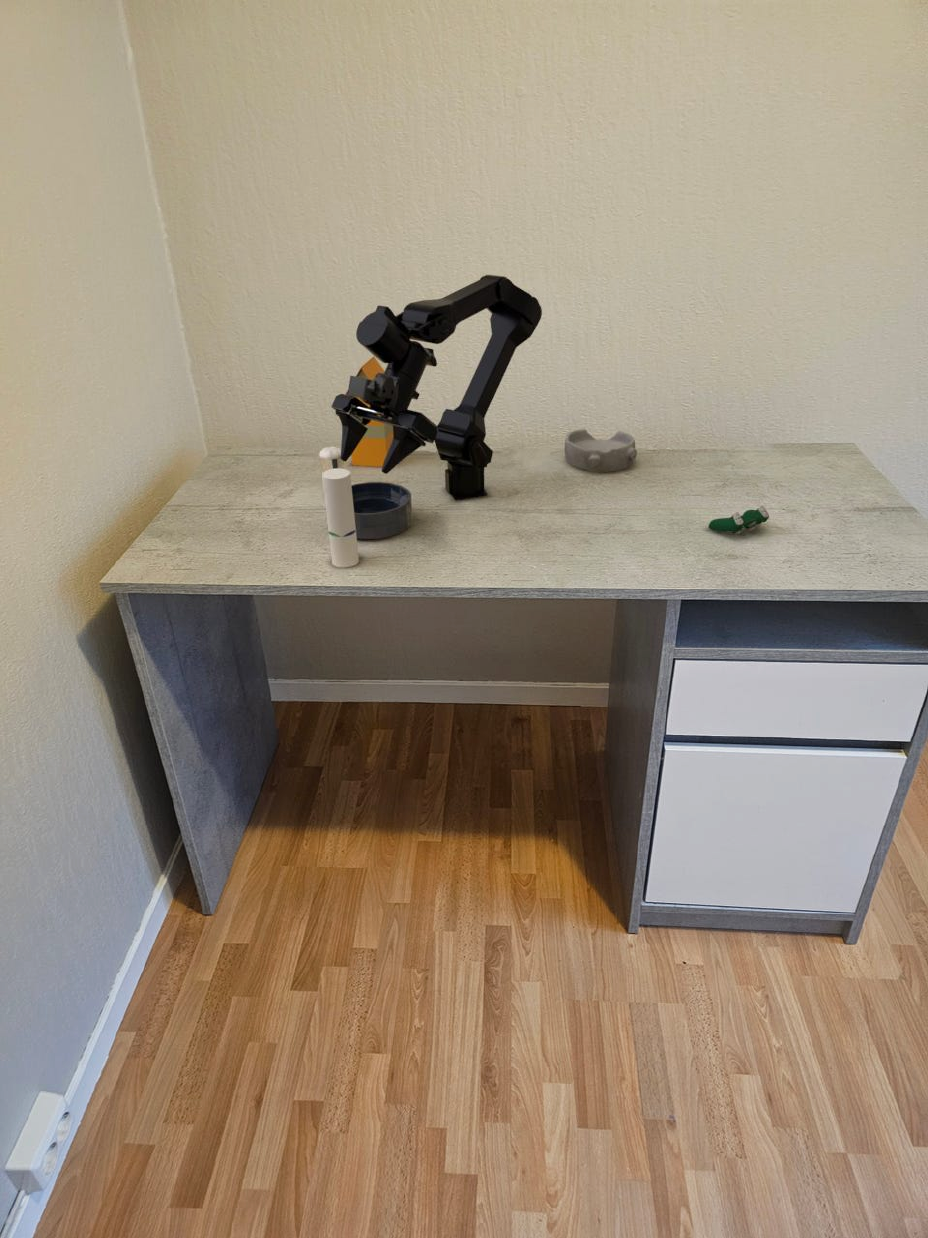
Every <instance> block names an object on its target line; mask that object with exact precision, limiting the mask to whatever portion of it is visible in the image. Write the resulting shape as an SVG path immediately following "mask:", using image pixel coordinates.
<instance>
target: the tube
mask: <svg viewBox="0 0 928 1238" xmlns="http://www.w3.org/2000/svg"><path fill="white" fill-rule="evenodd" d="M351 477H352V476H351V471H350V470H348V469H346V468H344V469H340V468H337V469H330V470H327V471H324V472H323V471H322V473H321V479H322V481H321V482H322V489H323V496H324V504H325V505H324V506H325V512H326V522H327V529H328V537H329V538H328V539H329V547H330V556H331V563H332V565H333V566H335V567H338V568H350V567H353V566H356V565H357V564H358V563H359V561H360V557H359V548H358V538H357V537H356V527H355V517H354V507H353V497H352V487H351V485H352V478H351Z"/></svg>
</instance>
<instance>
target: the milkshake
mask: <svg viewBox="0 0 928 1238" xmlns="http://www.w3.org/2000/svg"><path fill="white" fill-rule="evenodd" d="M318 457H319V461H320V467H321V470H322V473H323V472H324V471H327V470H330V469H337V468H340V469H345V461H343V460H341V447H340V448H339V447H337V446H326V447H323V448H322V449H321V450H320V451H319V453H318Z"/></svg>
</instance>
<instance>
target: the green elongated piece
mask: <svg viewBox="0 0 928 1238" xmlns="http://www.w3.org/2000/svg"><path fill="white" fill-rule="evenodd" d="M769 519H770V513H769V512H768V511H767V509H766V507H765V506H764V505H760V506H759V507H758V508H756V509H747V510H745V511H744V512H743V514H740V512H738V511H736V512H734V514H733V515H732V516H730V517H721V518H715V519H712V520H711V521H710V522H709V523H708V527H707V528H708V529H710V530H711V531H715V532H719V533H731V532H732V533H733V534H735V535H740V534H741V533H742V532H743V529H746V530H748V531H749V532H751V531H753V530H755V528H756V526H758V525H762V523H767V520H769Z"/></svg>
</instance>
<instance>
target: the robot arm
mask: <svg viewBox="0 0 928 1238" xmlns="http://www.w3.org/2000/svg"><path fill="white" fill-rule="evenodd" d="M484 310H487V311H488V312H489V313H490V314H491V315H490V318H489V322H490V331H491V335H490V338H489V341H488V342H487V344H486V347H485V349H484V352H483V353H482V356H481V358H480V360H479V362H478V364H477V366H476V369H475V371H474V373H473V375H472V378H471V379H470V382H469V384H468V386H467V388H466V390H465V393H464V395H463V397H462V400H461V401H460V403H459V405H458V406H457V407H456V408H455V409H449V408H445V410H444V411H443V413H442V415H441V417H440V420H439V422H438V423H437V424H435V422H433V421H432V420H431V419H430V418H428V417H427V416H426V415H425V414H424V413H423V412H421V411H420V412H419V411H416V410H411V409H409V407H410V405H411V402H412V400H417V401H418V399H419V397H420V393H419V392H418V391H417V388H418V387H419V384H420V382H421V379H422V377H423V375H424V372H425V370H426V368H427V366H429V367H435V368H436V367H437V366H438V362H437V358H436V356H435V352H434V349H433V348H430V347H424V346H423V345H422V344H421V343H420V342H424V343H429V344H435V345H440V344H442V343H444V342H445V341H446V340H447V339H449V337H451V336H452V335H453V334H454V333H455V332H456V329H457V326H458V325H459V324H460V323H461V322H463V321H466V320H467V319H469V318H471V317H473V316H475V315H477V314H478V313H480V312H483V311H484ZM542 315H543V310H542V306H541V304H540V301H539V300H538V299H537V298H536V297H535V296H532V294H530V293H529V292H527V291H525V290H524V289H522V288H521V287H519V286H517V285H515V283H514V282H512V280H511V279H509V278H508V277H506V276H503V275H494V274H485V275H482V276H481V277H480V278H479V279H477V280H476V281H474V282H472V283H470V284H467V285H466V286H463V287H462V288H460V289H458V290H456V291H454V292H452V293H450V294H447V295H445V296H444V297H441V298H437V299H435V298H434V299H423V300H418V301H413V302H410V303H408V304H406V306H404V308H403V311H402V312H400V313H398V314H397V315H395V314H394V312H393V310H392V309H391V308H389V306H386V305H379V304H378V305H377V306H376V309H375V311H373V312H371V313H369V314H367V315H366V316H365V317H364V318H363V319H362V320H361V321H359V322H358V325H357V327H356V332H355V335H356V336H355V337H356V340H357V342H358V343H359V344H360V345H361V346H362V347H364V349H365V350H367V351H368V352H369V353H371V354H372V355H373V357H375V359H378V360H379V362H380V363H383V364H386V367H385V369H384V371H385V372H384V374H382V373H378V374H376V375H375V378H374V380H370V379H366V378H361V377H356V375H350V376H349V383H348V388H347V391H348V394H347V395H345V394H346V393H345V394H344V393H340V394H338V395H336V396H335V397H334V400H333V402H332V403H331V407H330V408H332V409H333V410H334V411H335V415H336V416H337V417H338V418H339V420H340V423H341V444H340V445H341V446H340V449H341V460H343V461H344V462H347V461H348V460H349V458H350V457H351V454H352V453H353V451H354V450H355V448H356V447H357V445H358V444H359V442H360V441H361V439H362V438H363V436H364V435H365V433H366V432H367V430H368V428H366V427H365V425H367V424H368V423H370V421H371V420H373V421H377V422H381V423H385V424H389V425H393V441H392V443H391V446H390V448H389V450H388V453H387V455H386V458H385V460H384V463H383V467H381V469H380V470H381V472H382V473H383V474H384V475H387V474H388V473H390V472H391V471H392V470H394V468H396V466H398V465H399V464H400V463H401V462H402V461H404V460H405V459H406V458H407V457H408V456H410V455H411V454H412V453H414V452H415V451H417V450H418V449H419V448H421V447H426V445H427V443H429V444H435V448H436V450H437V454H438V457H439V460H440V461H445V462H446V463H447V468H445V469H444V483H445V484H444V485H445V486H444V487H445V491H446V492H447V494H448V495H450V497H452V499H453V500H454V501H462V500H469V499H476V498H483V497H487V496H489V495H488V491H487V490H486V489H485V468H488V465H489V464H491V463H492V459H493V454H494V451H493V450H492V448H491V447H490V446H489V445H488V444H487V443H486V442H485V439H486V435H487V432H486V422H485V418H486V415H487V412H488V411H489V408H490V407H491V404H492V402H493V399H494V397H495V396H496V393H497V391H498V388H499V386H500V384H501V383H502V380H503V378H504V376H505V374H506V371H507V369H508V366H509V365H510V362H511V361H512V358H513V356H514V353H515V352H516V349H518V347H519V346H520V345H522V344H523V343H524V342H526V341H528V339H529V338H531V337H532V335H533V334H534V332H535V330H536V329H537V327H538V325H539V324H540V321H541V319H542ZM353 396H355V397H353ZM356 397H359V398H360V399H362V401H364V402H365V403H366V404H369V405H370V407H368V406H367V405H365V404H364V403H363V402H362V401H360V400H359V399H358V398H356ZM377 415H380V416H381V417H380V416H377ZM388 418H390V419H388Z"/></svg>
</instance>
